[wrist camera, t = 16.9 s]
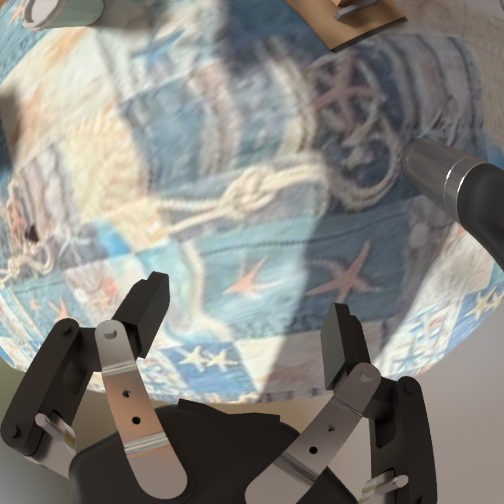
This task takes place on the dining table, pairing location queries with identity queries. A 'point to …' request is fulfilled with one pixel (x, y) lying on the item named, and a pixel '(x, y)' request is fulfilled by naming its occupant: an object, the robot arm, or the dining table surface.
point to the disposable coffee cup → (60, 13)
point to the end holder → (344, 18)
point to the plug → (340, 2)
